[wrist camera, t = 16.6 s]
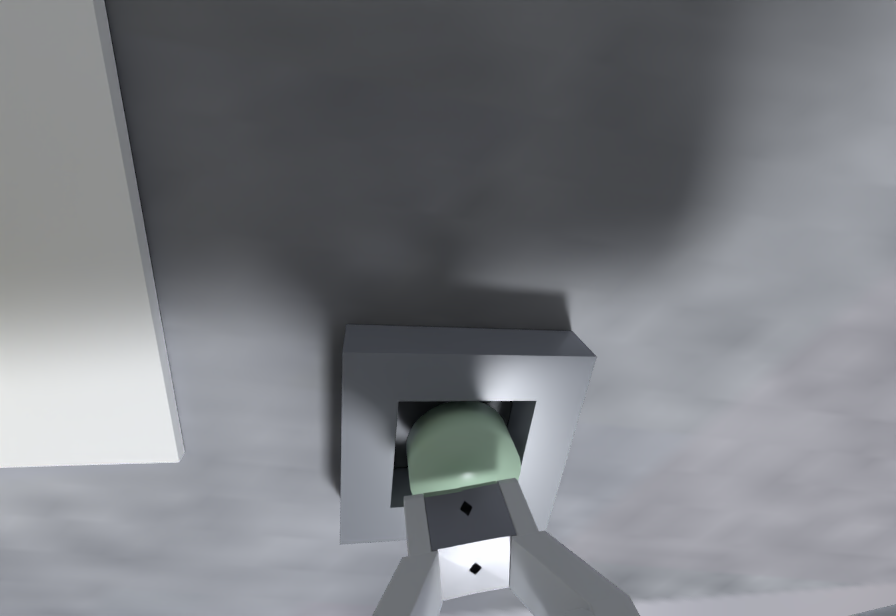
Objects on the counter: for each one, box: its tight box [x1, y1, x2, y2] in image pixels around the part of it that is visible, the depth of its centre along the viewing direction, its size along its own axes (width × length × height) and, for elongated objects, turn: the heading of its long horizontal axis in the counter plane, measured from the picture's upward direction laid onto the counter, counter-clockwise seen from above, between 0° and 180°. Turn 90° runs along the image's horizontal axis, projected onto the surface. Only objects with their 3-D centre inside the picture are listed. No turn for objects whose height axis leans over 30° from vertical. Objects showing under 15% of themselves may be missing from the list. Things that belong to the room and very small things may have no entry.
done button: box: [406, 401, 521, 495], centre depth 12 cm, size 3×3×1 cm
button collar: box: [340, 324, 597, 545], centre depth 13 cm, size 7×7×2 cm
